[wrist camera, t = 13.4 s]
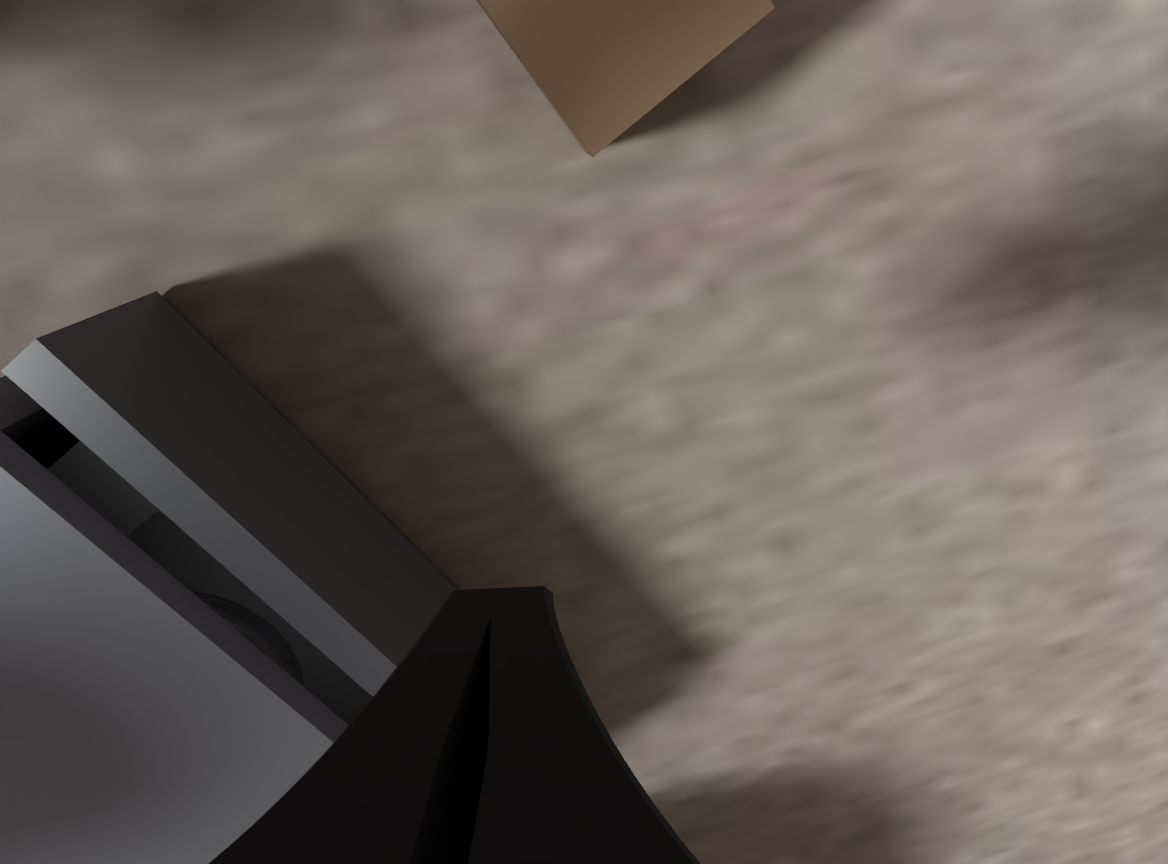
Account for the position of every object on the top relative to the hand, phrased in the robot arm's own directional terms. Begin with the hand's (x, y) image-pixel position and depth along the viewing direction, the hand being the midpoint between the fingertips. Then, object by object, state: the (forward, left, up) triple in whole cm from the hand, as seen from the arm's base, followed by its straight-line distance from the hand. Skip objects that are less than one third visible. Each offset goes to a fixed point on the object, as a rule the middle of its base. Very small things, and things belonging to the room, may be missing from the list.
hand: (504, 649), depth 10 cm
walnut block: (-6, +7, -10) cm, 13 cm away
